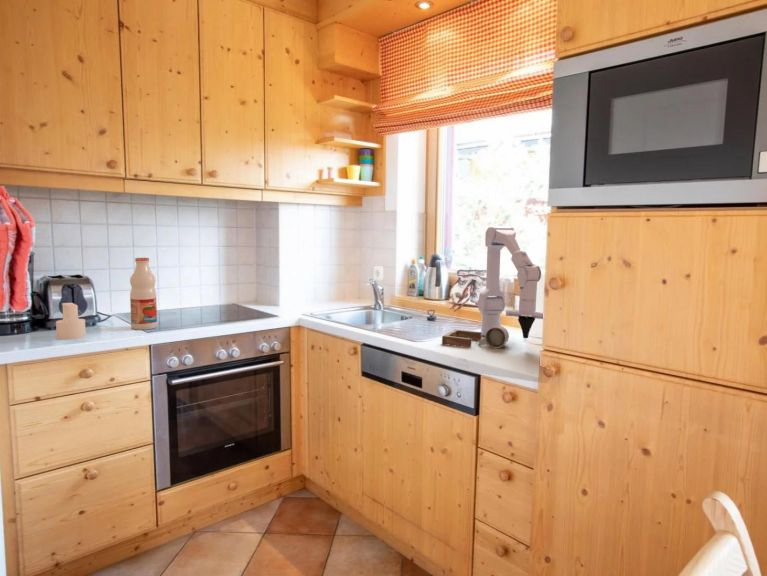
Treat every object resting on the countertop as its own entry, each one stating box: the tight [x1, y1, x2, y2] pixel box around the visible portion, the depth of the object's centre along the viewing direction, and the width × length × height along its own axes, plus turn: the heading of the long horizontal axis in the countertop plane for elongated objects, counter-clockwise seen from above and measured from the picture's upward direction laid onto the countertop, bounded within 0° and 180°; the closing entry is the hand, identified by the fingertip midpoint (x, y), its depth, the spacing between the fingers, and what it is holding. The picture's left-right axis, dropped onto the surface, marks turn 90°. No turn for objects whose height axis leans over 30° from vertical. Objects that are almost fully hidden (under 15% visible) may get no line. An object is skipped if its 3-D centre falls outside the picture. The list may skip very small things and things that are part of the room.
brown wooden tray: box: [441, 329, 482, 348], centre depth 190 cm, size 15×10×3 cm
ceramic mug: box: [477, 325, 510, 349], centre depth 185 cm, size 11×8×8 cm
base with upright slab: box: [55, 302, 87, 341], centre depth 182 cm, size 9×9×12 cm
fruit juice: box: [129, 257, 158, 331], centre depth 201 cm, size 9×9×28 cm
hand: (525, 337), depth 179 cm, fingers closed
